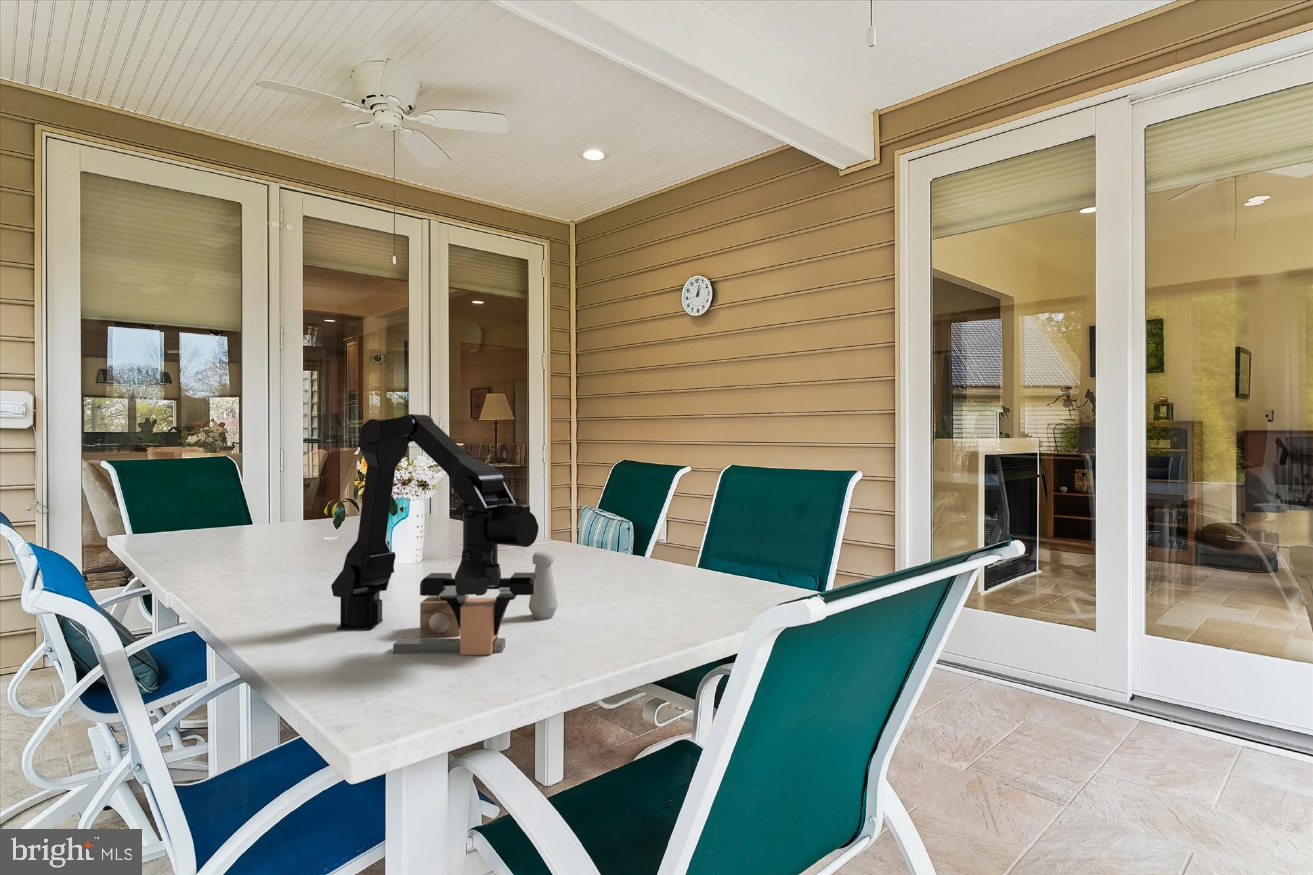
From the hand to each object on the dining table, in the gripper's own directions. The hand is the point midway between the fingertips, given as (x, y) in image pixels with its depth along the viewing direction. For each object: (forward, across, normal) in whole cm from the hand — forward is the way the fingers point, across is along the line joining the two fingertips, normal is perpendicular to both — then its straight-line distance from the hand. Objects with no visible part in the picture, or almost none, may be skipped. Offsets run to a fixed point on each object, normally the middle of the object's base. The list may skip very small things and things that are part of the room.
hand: (480, 634), depth 118 cm
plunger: (-4, -9, +12) cm, 15 cm away
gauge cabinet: (+2, -9, +12) cm, 15 cm away
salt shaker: (+3, +8, +22) cm, 24 cm away
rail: (+2, -5, 0) cm, 6 cm away
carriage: (+2, 0, 0) cm, 2 cm away
